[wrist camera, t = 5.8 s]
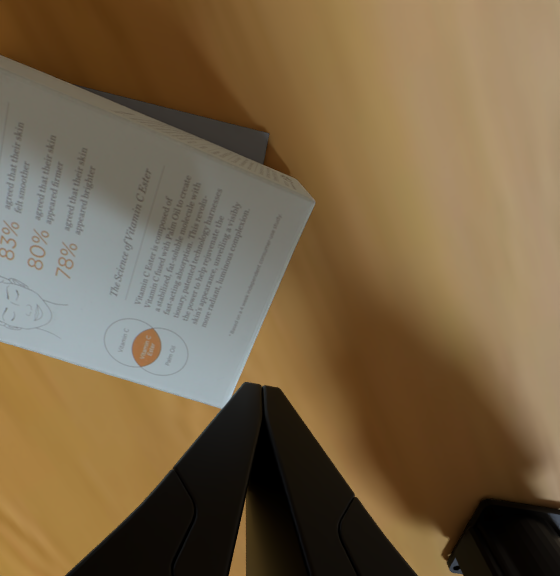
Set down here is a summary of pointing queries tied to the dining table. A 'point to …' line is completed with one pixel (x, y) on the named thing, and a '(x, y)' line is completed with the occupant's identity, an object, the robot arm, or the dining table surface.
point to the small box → (135, 239)
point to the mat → (201, 127)
